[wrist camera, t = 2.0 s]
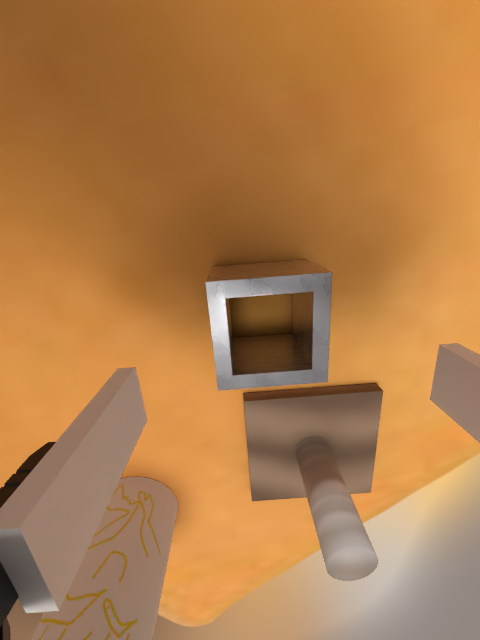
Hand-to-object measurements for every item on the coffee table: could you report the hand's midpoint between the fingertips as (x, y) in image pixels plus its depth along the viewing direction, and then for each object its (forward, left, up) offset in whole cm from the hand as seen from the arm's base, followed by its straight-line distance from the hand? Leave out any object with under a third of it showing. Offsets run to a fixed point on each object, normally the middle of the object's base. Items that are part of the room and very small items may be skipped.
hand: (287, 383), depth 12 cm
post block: (+14, +4, -11) cm, 18 cm away
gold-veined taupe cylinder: (+21, -14, -11) cm, 27 cm away
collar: (0, 0, -11) cm, 11 cm away
